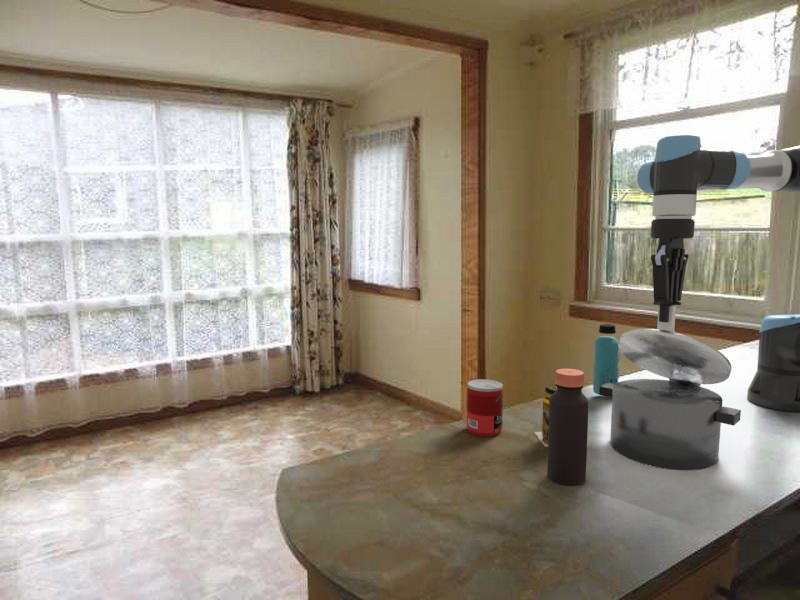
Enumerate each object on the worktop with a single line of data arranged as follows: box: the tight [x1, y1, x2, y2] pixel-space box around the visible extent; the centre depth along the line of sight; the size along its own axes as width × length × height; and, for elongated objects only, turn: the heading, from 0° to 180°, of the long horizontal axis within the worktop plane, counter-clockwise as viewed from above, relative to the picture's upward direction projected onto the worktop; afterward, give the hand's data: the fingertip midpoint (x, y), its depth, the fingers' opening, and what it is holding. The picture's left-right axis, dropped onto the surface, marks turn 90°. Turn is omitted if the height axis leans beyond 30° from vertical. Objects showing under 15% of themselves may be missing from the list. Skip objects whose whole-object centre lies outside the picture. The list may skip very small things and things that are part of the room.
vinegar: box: [546, 368, 590, 487], centre depth 97 cm, size 7×7×20 cm
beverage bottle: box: [592, 323, 620, 395], centre depth 143 cm, size 6×7×20 cm
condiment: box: [533, 383, 557, 448], centre depth 116 cm, size 7×8×12 cm
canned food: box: [466, 378, 504, 438], centre depth 121 cm, size 8×8×11 cm
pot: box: [598, 378, 742, 471], centre depth 111 cm, size 22×26×12 cm
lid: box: [618, 328, 732, 387], centre depth 111 cm, size 22×21×3 cm
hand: (665, 337), depth 107 cm, fingers closed
